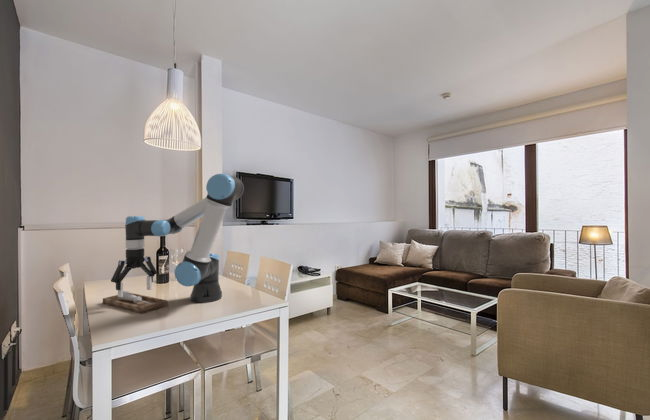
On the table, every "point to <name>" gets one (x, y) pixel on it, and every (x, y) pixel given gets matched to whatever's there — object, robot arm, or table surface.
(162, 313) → the table surface
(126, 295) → the screwdriver
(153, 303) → the tool tray
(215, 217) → the robot arm
